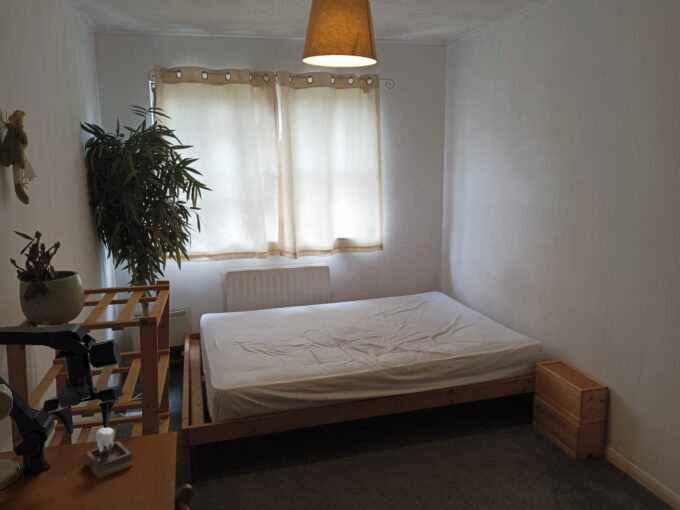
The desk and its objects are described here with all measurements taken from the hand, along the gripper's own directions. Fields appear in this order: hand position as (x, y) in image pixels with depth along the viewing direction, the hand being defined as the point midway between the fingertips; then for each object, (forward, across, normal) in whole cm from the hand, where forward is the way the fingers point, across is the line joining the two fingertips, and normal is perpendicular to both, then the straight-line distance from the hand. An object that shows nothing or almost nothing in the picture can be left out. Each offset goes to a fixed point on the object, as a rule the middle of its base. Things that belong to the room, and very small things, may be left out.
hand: (88, 430), depth 140 cm
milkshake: (+10, +1, +6) cm, 12 cm away
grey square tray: (+11, 0, +7) cm, 13 cm away
